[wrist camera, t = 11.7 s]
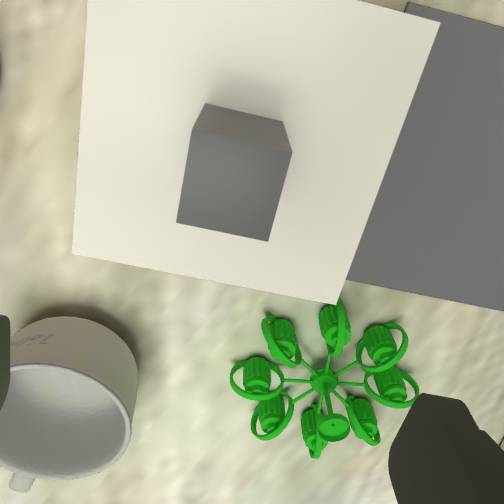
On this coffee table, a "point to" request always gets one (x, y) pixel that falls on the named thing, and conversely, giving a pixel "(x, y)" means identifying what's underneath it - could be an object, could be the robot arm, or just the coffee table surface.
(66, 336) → the teacup
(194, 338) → the coffee table surface
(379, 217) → the mat
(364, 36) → the lid
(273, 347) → the chandelier
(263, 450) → the coffee table surface
